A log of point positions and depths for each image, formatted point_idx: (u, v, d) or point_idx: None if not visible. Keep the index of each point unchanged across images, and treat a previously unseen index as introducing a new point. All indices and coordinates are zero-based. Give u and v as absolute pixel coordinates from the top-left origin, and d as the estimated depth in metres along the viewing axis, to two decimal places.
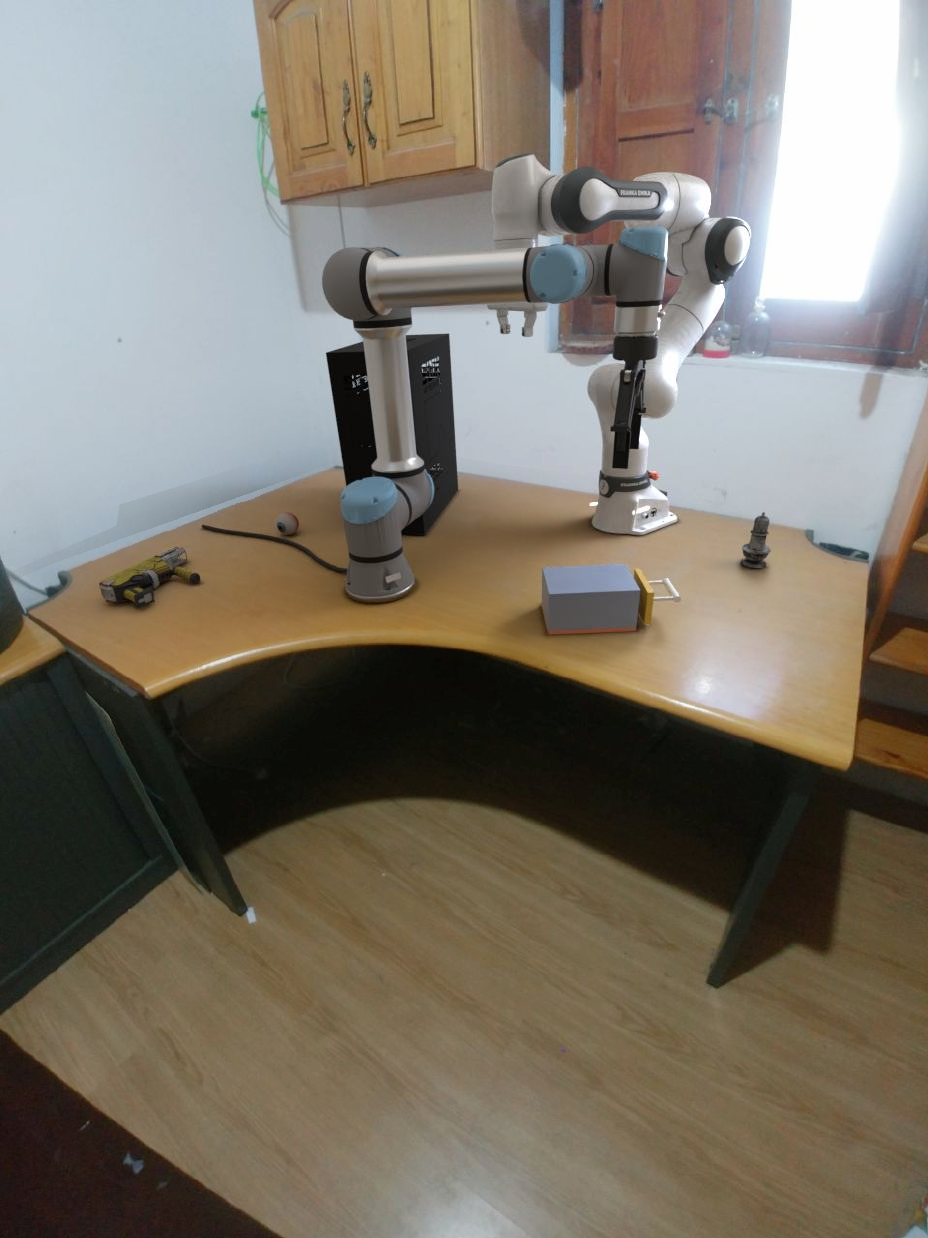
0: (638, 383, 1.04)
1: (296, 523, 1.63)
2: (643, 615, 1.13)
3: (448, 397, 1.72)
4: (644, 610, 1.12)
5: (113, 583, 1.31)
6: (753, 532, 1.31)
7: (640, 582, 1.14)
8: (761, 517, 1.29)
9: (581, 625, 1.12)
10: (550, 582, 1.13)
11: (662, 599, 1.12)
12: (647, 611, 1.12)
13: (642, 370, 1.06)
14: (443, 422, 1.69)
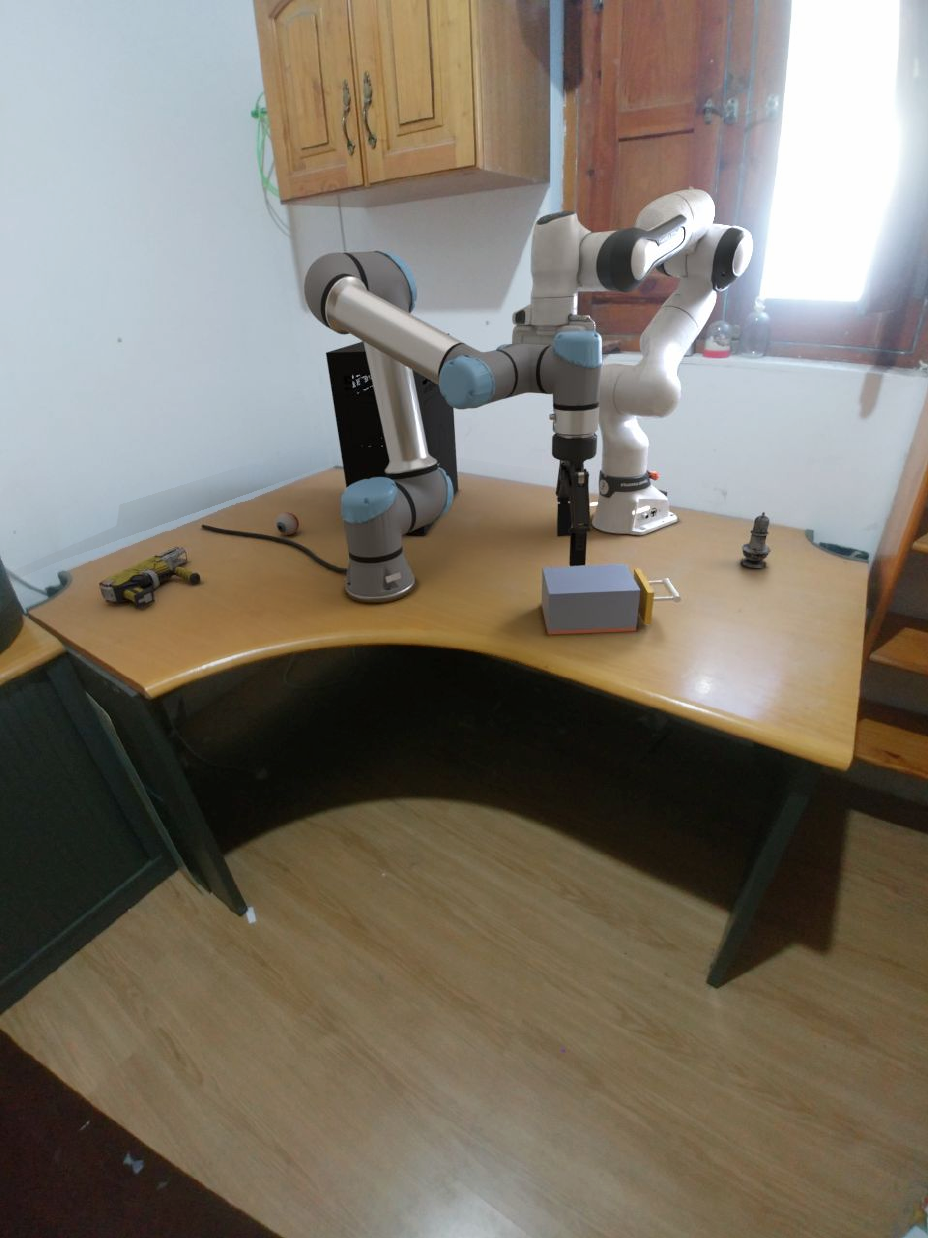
0: None
1: (296, 523, 1.63)
2: (643, 615, 1.13)
3: None
4: (644, 610, 1.12)
5: (113, 583, 1.31)
6: (753, 532, 1.31)
7: (640, 582, 1.14)
8: (761, 517, 1.29)
9: (581, 625, 1.12)
10: (551, 582, 1.13)
11: (662, 599, 1.12)
12: (647, 611, 1.12)
13: (565, 470, 1.03)
14: (443, 422, 1.69)
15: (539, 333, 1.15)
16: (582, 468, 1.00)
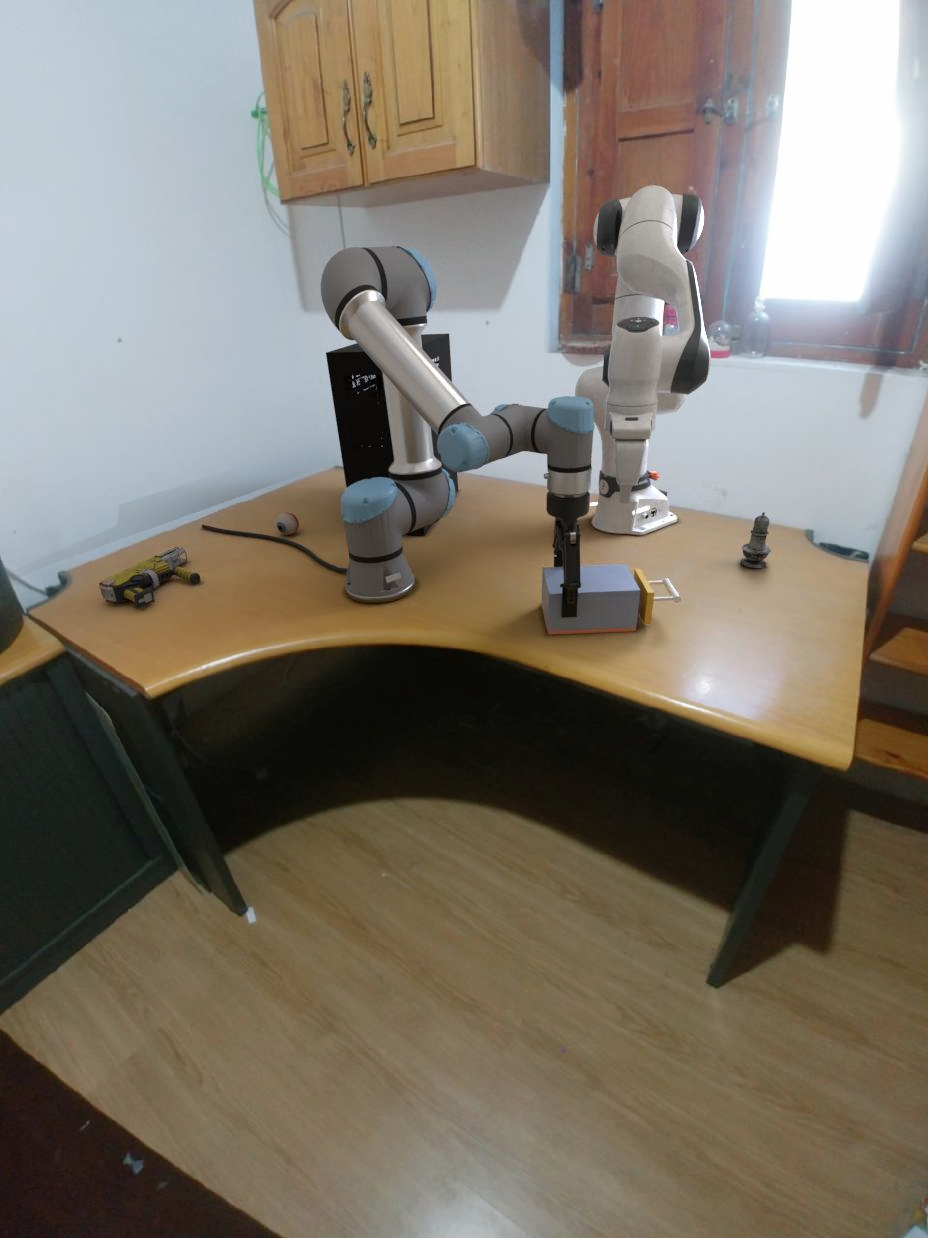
0: None
1: (296, 523, 1.63)
2: (643, 615, 1.13)
3: None
4: (644, 610, 1.12)
5: (113, 583, 1.31)
6: (753, 532, 1.31)
7: (640, 582, 1.14)
8: (761, 517, 1.29)
9: (581, 625, 1.12)
10: (551, 582, 1.13)
11: (662, 599, 1.12)
12: (647, 611, 1.12)
13: None
14: None
15: None
16: (575, 525, 1.05)
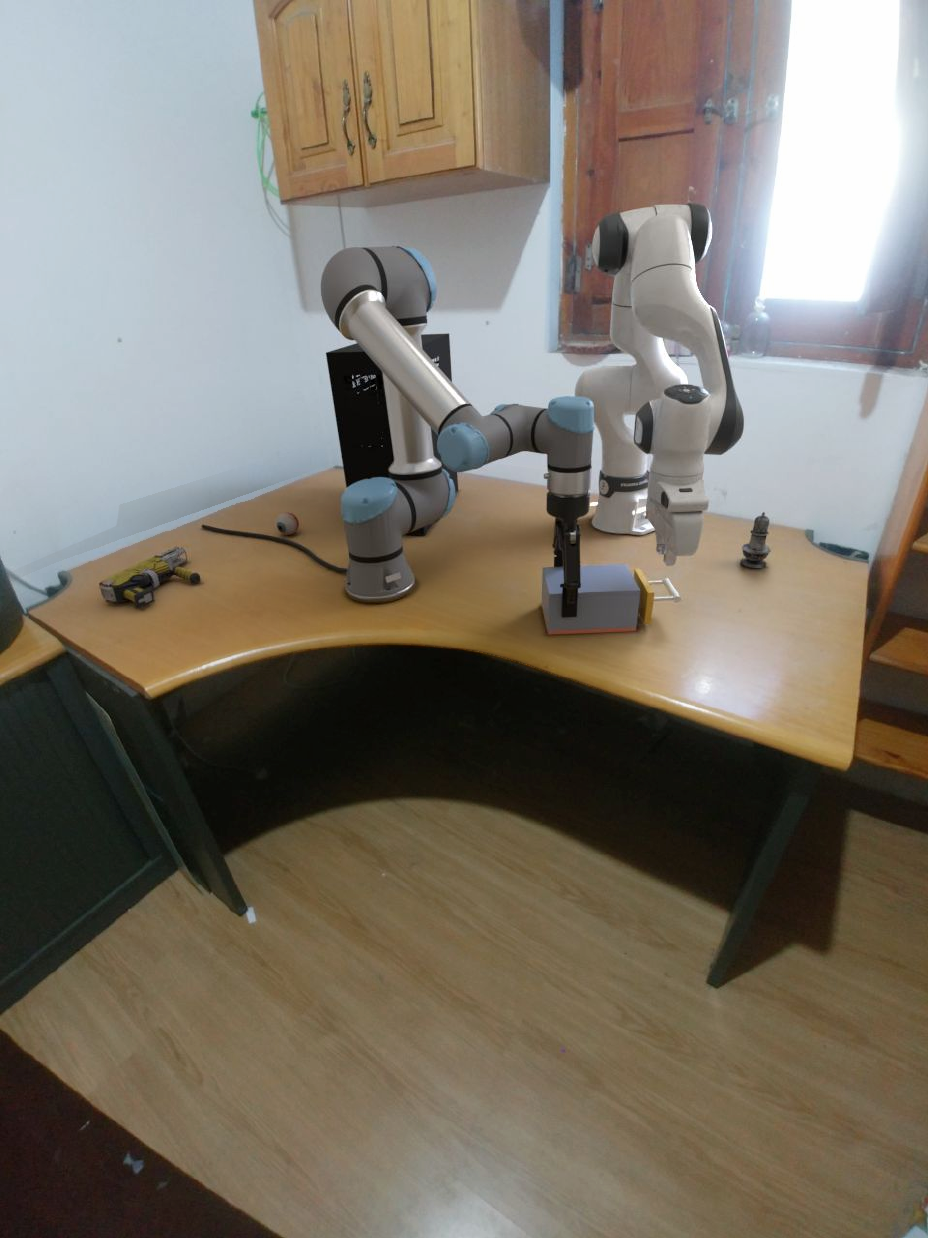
0: None
1: (296, 523, 1.63)
2: (643, 615, 1.13)
3: None
4: (644, 610, 1.12)
5: (113, 583, 1.31)
6: (753, 532, 1.31)
7: (640, 582, 1.14)
8: (761, 517, 1.29)
9: (581, 625, 1.12)
10: (551, 582, 1.13)
11: (662, 599, 1.12)
12: (647, 611, 1.12)
13: None
14: None
15: None
16: (575, 525, 1.05)
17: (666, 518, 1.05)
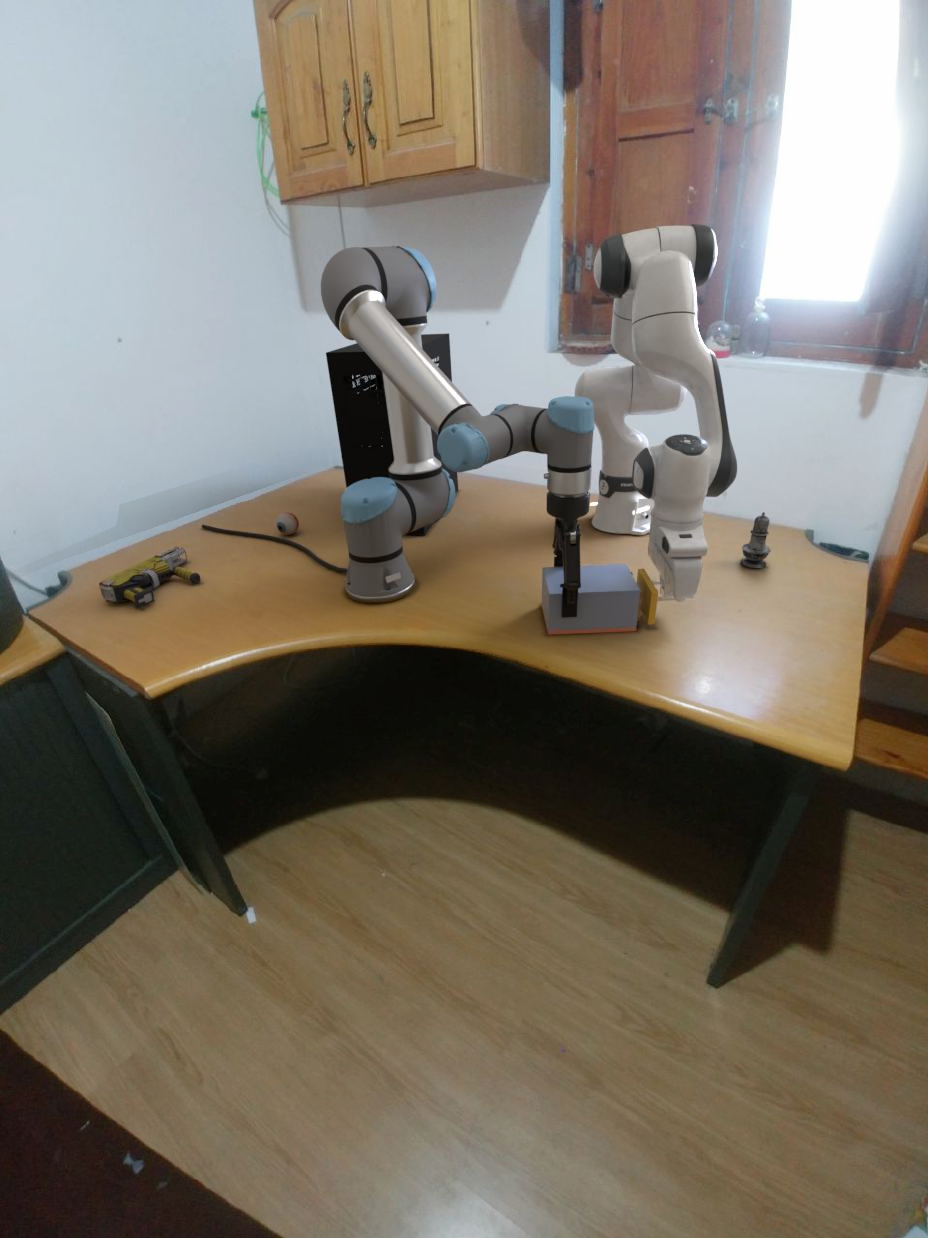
0: None
1: (296, 523, 1.63)
2: (647, 615, 1.13)
3: None
4: (648, 610, 1.12)
5: (113, 583, 1.31)
6: (753, 532, 1.31)
7: (644, 582, 1.14)
8: (761, 517, 1.29)
9: (581, 625, 1.12)
10: (551, 582, 1.13)
11: (666, 599, 1.12)
12: (651, 611, 1.12)
13: None
14: None
15: None
16: (575, 525, 1.05)
17: (667, 560, 1.09)
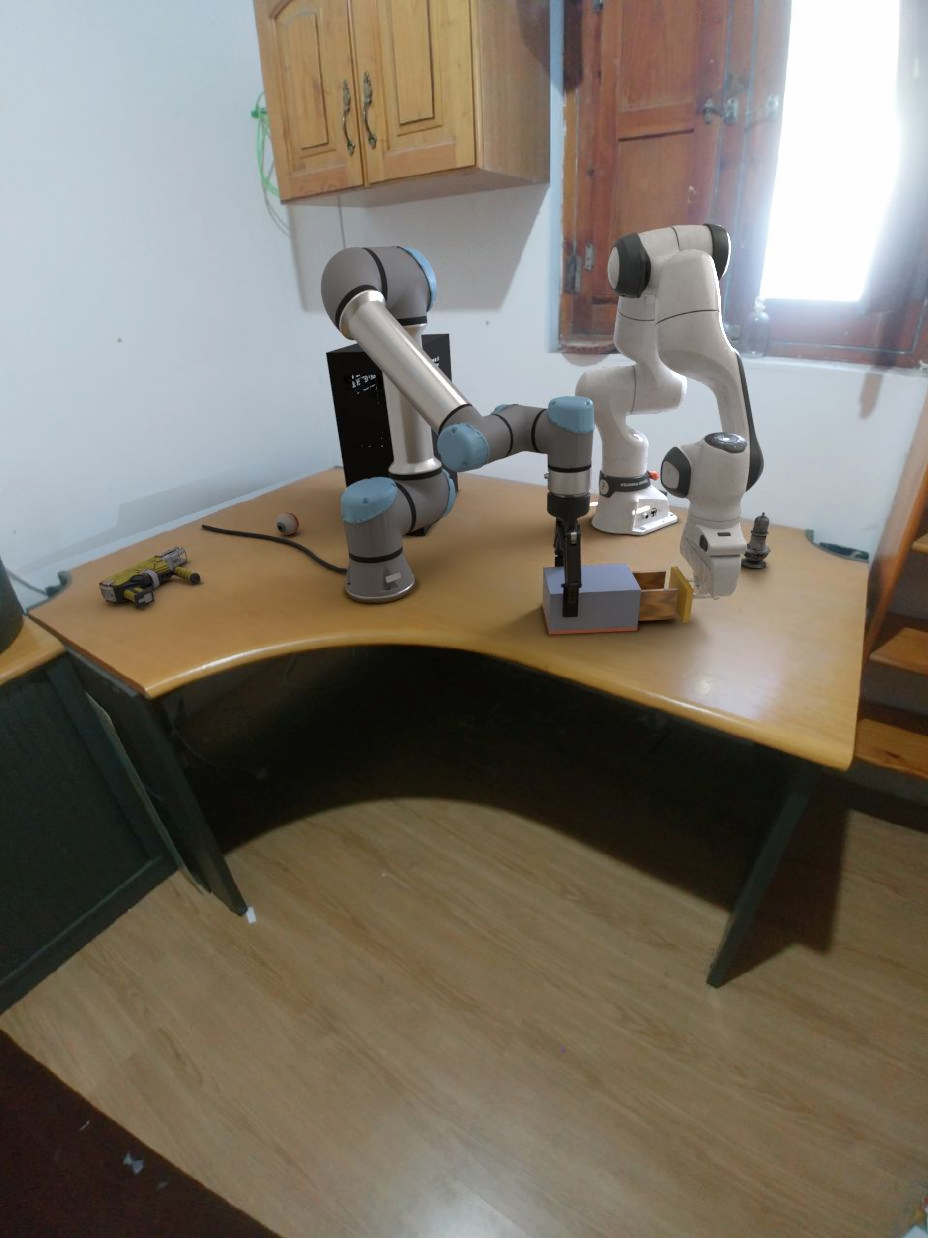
0: None
1: (296, 523, 1.63)
2: (682, 613, 1.13)
3: None
4: (683, 608, 1.12)
5: (113, 583, 1.31)
6: (753, 532, 1.31)
7: (678, 580, 1.14)
8: (761, 517, 1.29)
9: (582, 624, 1.12)
10: (551, 581, 1.13)
11: (701, 597, 1.12)
12: (686, 608, 1.11)
13: None
14: None
15: None
16: (575, 525, 1.05)
17: (703, 559, 1.09)
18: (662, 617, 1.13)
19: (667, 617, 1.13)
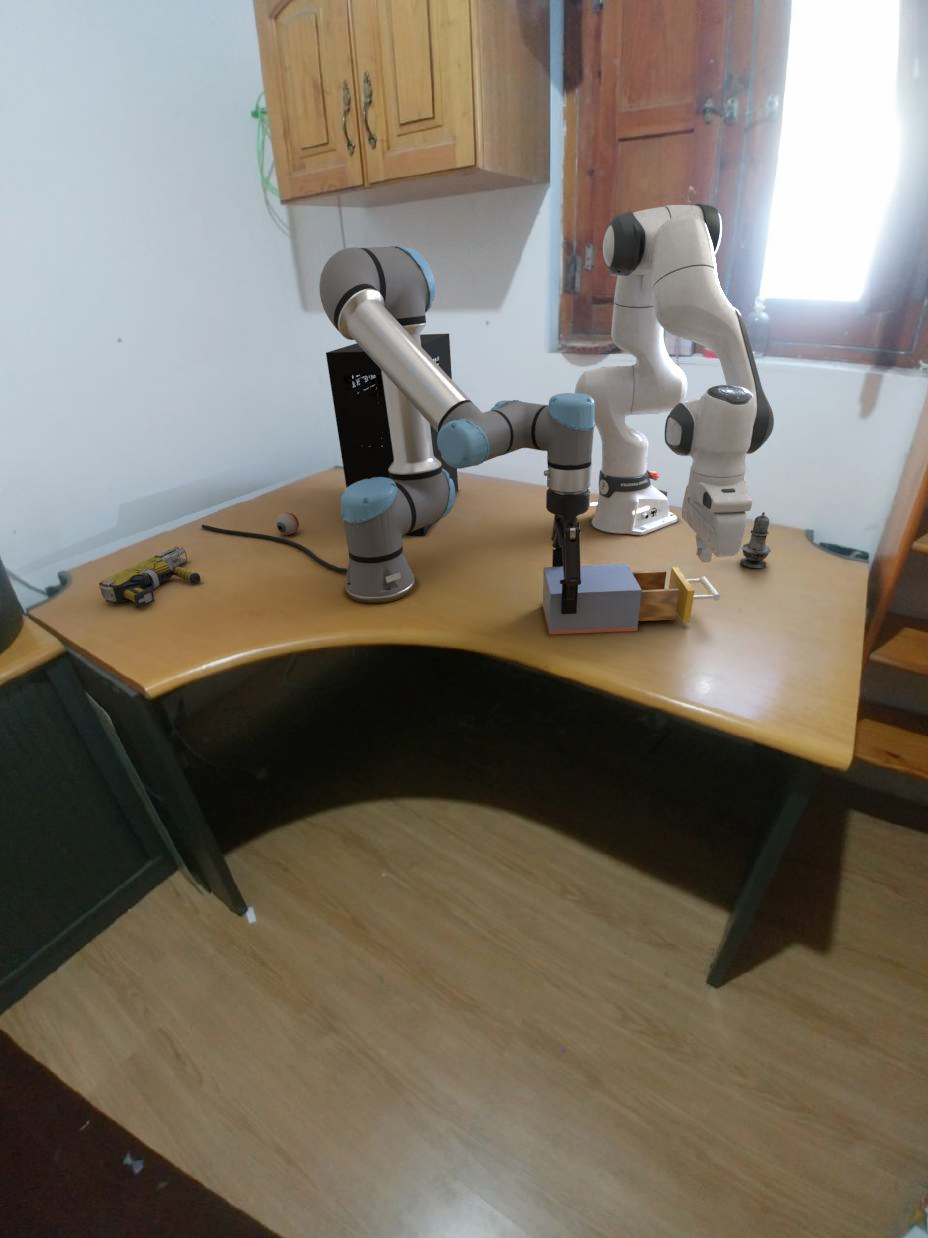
0: None
1: (296, 523, 1.63)
2: (682, 613, 1.13)
3: None
4: (683, 608, 1.12)
5: (113, 583, 1.31)
6: (753, 532, 1.31)
7: (678, 580, 1.14)
8: (761, 517, 1.29)
9: (582, 624, 1.12)
10: (552, 581, 1.13)
11: (701, 597, 1.12)
12: (686, 609, 1.11)
13: (559, 522, 1.07)
14: None
15: None
16: (574, 523, 1.04)
17: (706, 518, 1.05)
18: (662, 617, 1.13)
19: (667, 617, 1.13)
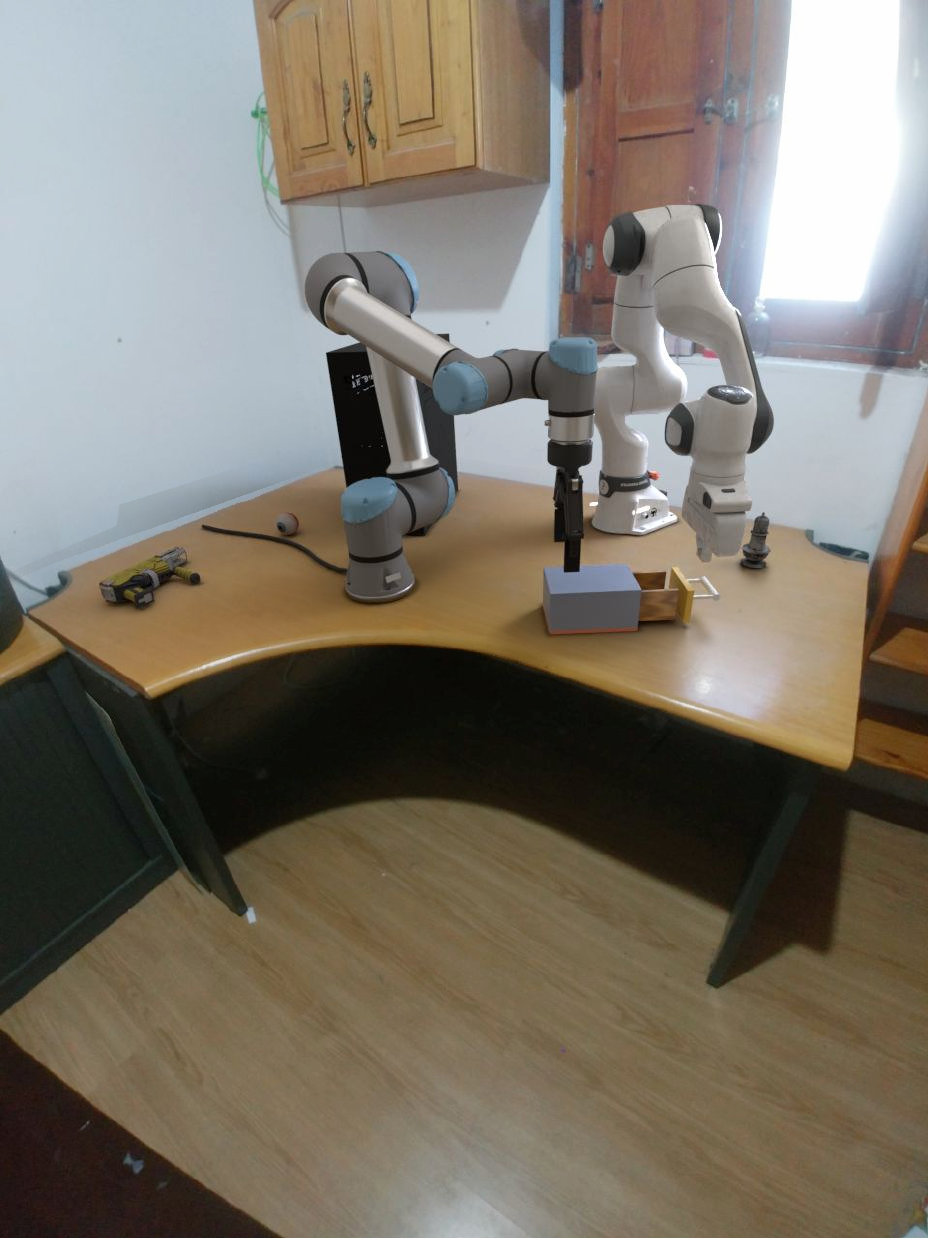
0: None
1: (296, 523, 1.63)
2: (682, 613, 1.13)
3: None
4: (683, 608, 1.12)
5: (113, 583, 1.31)
6: (753, 532, 1.31)
7: (678, 580, 1.14)
8: (761, 517, 1.29)
9: (582, 624, 1.12)
10: (552, 581, 1.13)
11: (701, 597, 1.12)
12: (686, 609, 1.11)
13: None
14: (443, 422, 1.69)
15: None
16: (577, 475, 1.00)
17: (706, 518, 1.05)
18: (662, 617, 1.13)
19: (667, 617, 1.13)
